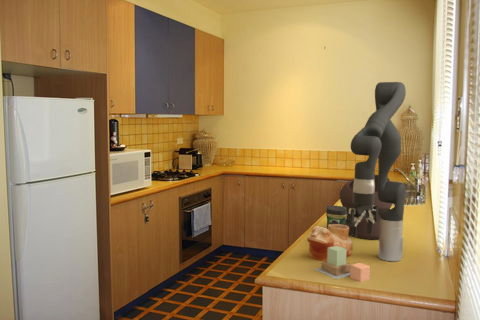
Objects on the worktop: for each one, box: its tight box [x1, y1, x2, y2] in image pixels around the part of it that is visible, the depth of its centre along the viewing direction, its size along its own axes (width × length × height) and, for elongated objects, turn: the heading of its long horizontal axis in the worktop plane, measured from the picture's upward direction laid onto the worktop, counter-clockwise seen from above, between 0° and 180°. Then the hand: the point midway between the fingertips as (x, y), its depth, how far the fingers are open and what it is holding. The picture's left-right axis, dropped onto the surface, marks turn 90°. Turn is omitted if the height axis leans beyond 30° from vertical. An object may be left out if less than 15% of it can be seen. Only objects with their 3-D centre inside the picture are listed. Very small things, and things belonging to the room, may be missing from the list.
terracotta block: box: [349, 262, 371, 283], centre depth 169 cm, size 5×5×6 cm
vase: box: [339, 174, 393, 240], centre depth 234 cm, size 27×27×30 cm
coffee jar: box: [325, 204, 347, 229], centre depth 216 cm, size 10×8×19 cm
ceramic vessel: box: [306, 224, 354, 262], centre depth 196 cm, size 14×26×15 cm, turn 135°
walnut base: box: [320, 261, 352, 276], centre depth 177 cm, size 8×8×3 cm
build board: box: [313, 267, 350, 280], centre depth 177 cm, size 12×12×1 cm
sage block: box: [327, 246, 347, 267], centre depth 176 cm, size 5×5×6 cm
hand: (361, 234), depth 168 cm, fingers open, 8 cm apart
